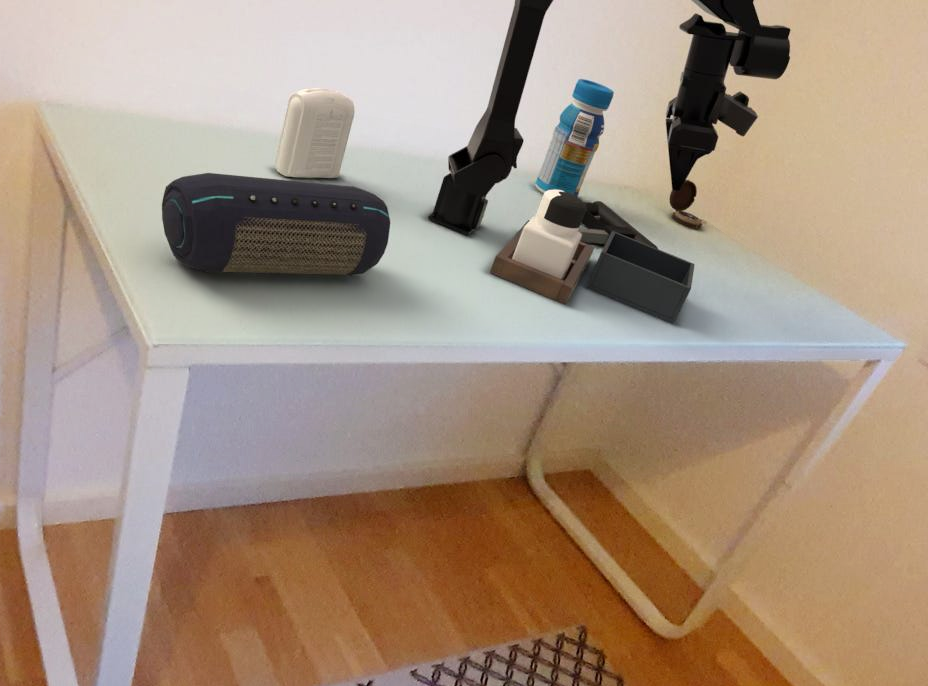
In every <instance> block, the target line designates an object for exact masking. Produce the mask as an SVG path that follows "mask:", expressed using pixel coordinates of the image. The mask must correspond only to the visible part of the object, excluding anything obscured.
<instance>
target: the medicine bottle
mask: <svg viewBox="0 0 928 686" xmlns="http://www.w3.org/2000/svg"><path fill="white" fill-rule="evenodd" d="M584 202H585V201H583V199H581V198H580V197H579V196H578V197H577V196H575V195H573V194H571V193H569V192H566V191H562V190H556V189H555V190H548V191H546V192H544V194H543V195H542V197H541V201H540V203H539V206H538V207H537V211H536V213H535V215H534V216H533V217H532V218H531V219H530V221H529V222H528V223H527V224H526V225H525V226H524V228H523V231H522V233H521V236H520V239H519V242H518V244H517V247H516V250H515V252H514V255H513V258H512V259H513V260H515V261H518V262H520V263H523V264H525V265H527V266H530V267H532V268H535V269H537V270H539V271H542V272H544V273H547V274H549V275H552V276H554V277H556V278H559V279H561V280H564V281H565V279H566V278H565V276H566V273H567V271H568V268H569V266H570V264H571V261H572V260H574V258H573V256H574V254H575V251H576V249H577V247H578V244H579V242H580V239H581V237H582V234H581V233H580V232H578V230H579V228H581V225H582V223H581V222H582V220H583V217H584V215H585V212H586V210H587V207H586V204H585V203H584Z"/></svg>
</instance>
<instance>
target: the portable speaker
mask: <svg viewBox="0 0 928 686" xmlns="http://www.w3.org/2000/svg"><path fill="white" fill-rule="evenodd" d="M161 221H162V227H163V233H164V236H165V238H166V240H167V243H168V245H169V248H170V250H171V252H172V255H173V257H174V258H175V260H177V261H178V262H179V263H181V264H182V265H184V266H187V267H189V268H191V269H194V270H195V271H199V272H204V273H242V274H243V273H244V274H245V273H248V274H249V273H250V274H285V275H287V274H289V275H325V276H326V275H332V276H349V277H351V276H357V275H362V274H364V273H366V272H368V271H370V270H371V269H372V268H374V267H375V266H376V265H378V264H379V263H380V261H381V259H382V257H383V256H384V254H385V253H386V250H387V247H388V244H389V236H390V229H391V218H390V214H389V208H388V205H387V204H386V202H385V201H384V200H383V199H382V198H381V197H379V196H378V195H376V194H375V193H373V192H370V191H368V190H366V189H362V188H359V187H356V186H351V185H340V184H331V183H321V182H309V181H299V180H288V179H277V178H266V177H255V176H246V175H235V174H226V173H225V174H224V173H216V172H215V173H214V172H204V173H197V174H191V175H185V176H181V177H179V178H176V179H174V180H172V181H171V182H170V183H168V185H166V186H165V189H164V192H163V196H162V202H161Z"/></svg>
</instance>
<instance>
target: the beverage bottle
mask: <svg viewBox="0 0 928 686" xmlns="http://www.w3.org/2000/svg"><path fill="white" fill-rule="evenodd" d="M571 95H572V96H571V99H573V100H574V101H572V102H571V103H569V105H567V106H566V107H565V108H564V109H563V110H562V112H561V113H560V115H559V122H558V124H557V125H556V126H555V127H554V129H553V132H552V137H551V140H550V142H549V146H548V148H547V151H546V153H545V157H544V158H543V159H544V160H543V162H542V165H541V168H540V171H539V173H538V176H537V177H536V180H535V184H534V186H535V188H536V189H537V191H539V193H542V194H543V195H544V192H546V191H548V190H555V189H556V190H562V191H566V192H569V193H571V194H573V195H575V196H577V197H579V194H580V191H581V188H582V186H583V183H584V180H585V178H586V176H587V173H588V171H589V168H590V166H591V163H592V161H593V159H594V157H595V154H596V152H597V150H598V149H599V147H600V137H601V136H602V135H603V133H604V132H605V117H604V112H606V111H607V110H609V107H610V105H611V103H612V100H613V99H614V91H613V89H611V88H610V87H608V86H606V85H603V84H601V83H598V82H595V81H592V80H589V79H584V78H579V79H578V80H577V82H576V84H575V86H574V89H573V92H572V94H571Z"/></svg>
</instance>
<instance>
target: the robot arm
mask: <svg viewBox="0 0 928 686" xmlns="http://www.w3.org/2000/svg"><path fill="white" fill-rule="evenodd" d="M754 1H755V0H691V2H693V3H694V5H697V7H699V9H700V10H702V11H703V12H705V13H707V14H708V15H710V16H713V17H714V18H717V19H719V20H720V21H722V22H723V23H724V24H723V23H722V22H713V21H707V20H704V17H703V16H702V15H700V14H699V13H694V14H693V15H692V16H691V17H690V18H689V19H687V20H685V21H684V22H682V23H680V24H679V26H678V28H679V30H680V31H682V32H684V33H686V34H687V35H692V38H691V42H690V44H689V49H688V52H687V57H686V60H685V64H684V69H683V71H682V72H681V74H680V78H679V81H680V82H679V87H678V91H677V94H676V97H673V98H672V99H671V100H669V101H668V104H667V107H666V112H665V128H666V141H667V149H668V162H669V171H670V181H671V191H672V190H675V191H680V189H681V188H682V186H683V184H684V182H685V180H687V178H688V177H689V175H690V173H691V172H692V169H693V168H694V166H695V164H696V162H697V161H698V160H700V158H702V157H704V156H706V155H710V154H711V153H712V152H714V151H715V150H716V147H717V143H718V139H719V135H718V131H717V129H716V128H715V126H714V125H717V124H718V121H720V122H721V123H722V124H723V125H725V126H727V127H729V128H730V129H732V130H734V131H735V133H736V134H737V135H739V136H740V137H743V138H744V137H745V136H746V135H747V133H748V132H749V130H750V129H751V127H753V125H754V124H755V122H756V121H757V119H758V118H759V116H758V115H757V112H756V111H755V110H754V109H753V108H752V107H750V106H749V103H750V97H749V95H747V94H746V93H743V92H742V91H740V90H739V91H738V92H736V93H735V94H733V95H731V94H728V93H726V91H727V86H726V85H725V79H726V76H727V72H728V69H729V66H731V67H732V69H733V72H734V74H735V75H737V76H742V77H751V78H759V79H767V80H779V79H780V78H781V77H782V76H783V74H784V73H785V72H786V70H787V69H788V65H789V63H790V59H791V55H790V53H791V42H790V39H789V37H790V34H791V30H792V29H791V28H790V27H788V26H785V25H780V24H775V25H774V24H773V25H767V24H761V22H760V19H759V16H758V13H757V10H756V7H755V3H754ZM553 2H554V0H514V6H513V8H512V9H513V10H512V13H511V17H510V21H509V24H508V29H507V32H506V36H505V39H504V43H503V47H502V51H501V54H500V59H499V62H498V65H497V69H496V74H495V76H494V77H495V78H494V81H493V84H492V87H491V88H492V89H491V92H490V95H489V100H488V104H487V108H486V109H485V111H484V113H483V114H482V116H481V117H480V119H479V121H478V123H477V124H476V126H475V128H474V130H473V133H472V135H471V137H470V138H469V140H468V143H467V145H466V146H464V147H463V148H461V149H459V150H457V151H455V152H453V153H451V154H449V155H448V157H447V162H448V164H447V165H448V171H449V173H448V174H446V175H444V176H443V179H442V182H441V185H440V188H439V191H438V195H437V198H436V201H435V205H434V208H433V211H432V212H430V214H428V216H427V218H428V220H430V221H432V222H435V223H438V224H440V225H442V226H444V227H447V228H449V229H451V230H454V231H457V232H459V233H461V234H464V235H470V234H471V233H472V232H473V231H475V230H477V229H478V228H480V226H481V224H482V222H483V218H484V215H485V212H486V209H487V206H488V203H489V200H488V199H487V195H488V194H489V192H490V191H491V190H492V189H493V187H494V186H495V185H496V184H500V183H501V182H502V181H504V180H507V178H508V177H509V176H510V174H511V171H512V168H514V169H515V170H516V169H517V168H518V163H517V161H518V156H519V153H520V151H521V150H522V149H521V148H522V147H523V145H524V137H523V136H522V134H521V133H520V131H519V130H518V128H517V127H516V117H517V114H518V110H519V107H520V103H521V100H522V97H523V93H524V90H525V85H526V84H527V83H526V82H527V80H528V76H529V72H530V69H531V65H532V62H533V57H534V54H535V51H536V47H537V44H538V40H539V37H540V34H541V29H542V27H543V22H544V19H545V16H546V14H547V12H548V10H549V8H550V7H551V5H552V3H553ZM725 24H726V25H728V26H731V27H733V28H735V29H737V30H738V32H732V31H727V30H726V29H727V28H726V27H725V26H726V25H725Z"/></svg>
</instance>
